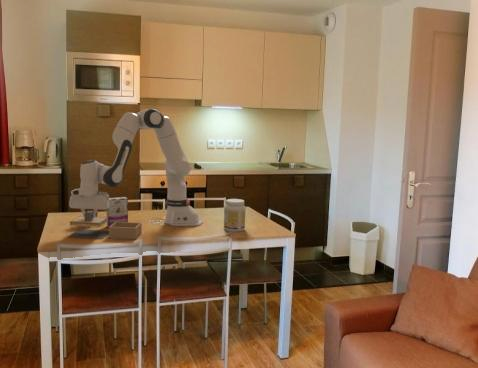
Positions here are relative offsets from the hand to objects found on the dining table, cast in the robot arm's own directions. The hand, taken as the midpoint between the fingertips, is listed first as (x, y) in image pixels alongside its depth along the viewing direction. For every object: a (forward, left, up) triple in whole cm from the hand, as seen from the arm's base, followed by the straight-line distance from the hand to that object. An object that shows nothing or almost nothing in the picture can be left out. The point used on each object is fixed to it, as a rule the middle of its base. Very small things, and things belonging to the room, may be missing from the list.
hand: (89, 217), depth 256 cm
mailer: (-19, 0, -9) cm, 21 cm away
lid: (0, 0, -3) cm, 3 cm away
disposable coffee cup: (+7, -21, -10) cm, 24 cm away
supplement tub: (-75, -24, -10) cm, 79 cm away
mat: (0, 0, -9) cm, 9 cm away
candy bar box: (-9, -19, -10) cm, 23 cm away
